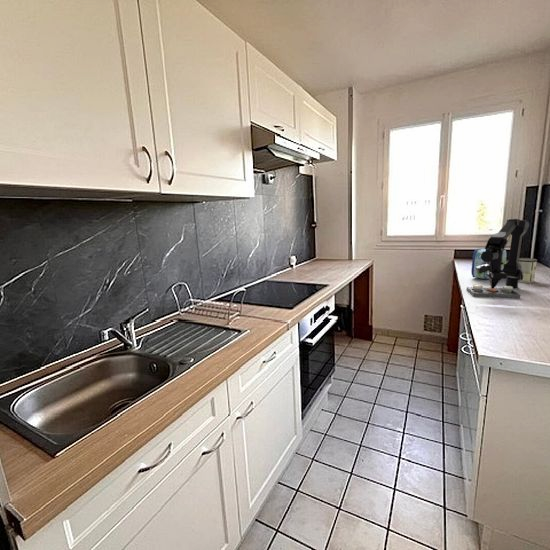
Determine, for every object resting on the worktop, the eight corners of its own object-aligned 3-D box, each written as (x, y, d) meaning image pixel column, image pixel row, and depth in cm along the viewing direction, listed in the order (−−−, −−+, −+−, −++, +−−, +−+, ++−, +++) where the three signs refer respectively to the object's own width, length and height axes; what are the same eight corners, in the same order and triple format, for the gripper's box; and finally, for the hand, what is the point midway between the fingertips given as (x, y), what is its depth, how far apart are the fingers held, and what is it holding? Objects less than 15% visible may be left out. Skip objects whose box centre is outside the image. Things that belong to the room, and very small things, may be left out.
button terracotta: (485, 292, 171) (486, 286, 170) (495, 292, 170) (495, 287, 169) (488, 294, 167) (489, 288, 166) (498, 295, 166) (498, 289, 165)
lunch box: (489, 273, 223) (492, 244, 218) (506, 276, 213) (510, 246, 209) (468, 278, 211) (470, 247, 207) (484, 281, 202) (488, 249, 197)
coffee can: (513, 278, 206) (515, 257, 203) (532, 279, 201) (535, 258, 198) (514, 281, 198) (517, 259, 195) (535, 283, 192) (538, 260, 189)
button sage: (500, 291, 169) (501, 285, 168) (510, 291, 167) (511, 286, 167) (503, 293, 165) (504, 287, 164) (513, 293, 163) (514, 288, 163)
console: (466, 291, 178) (466, 286, 178) (509, 293, 172) (509, 288, 171) (473, 298, 165) (473, 293, 165) (520, 300, 159) (520, 294, 158)
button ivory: (471, 290, 173) (472, 284, 172) (480, 290, 172) (481, 285, 171) (473, 292, 169) (474, 286, 168) (483, 292, 168) (483, 286, 167)
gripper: (473, 257, 176) (470, 283, 179) (483, 262, 158) (480, 291, 162) (496, 257, 172) (493, 284, 175) (509, 262, 155) (505, 292, 158)
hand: (492, 288), depth 168 cm, fingers closed, pressing on button terracotta
